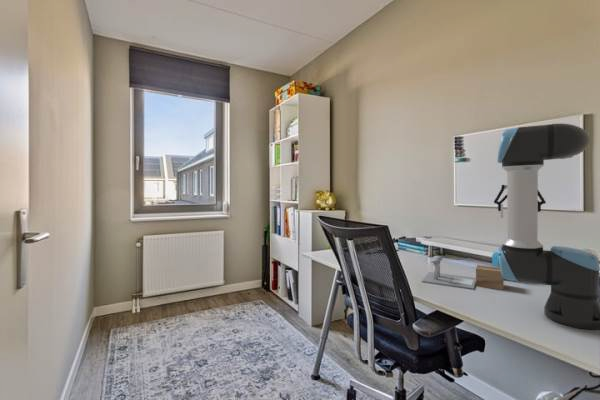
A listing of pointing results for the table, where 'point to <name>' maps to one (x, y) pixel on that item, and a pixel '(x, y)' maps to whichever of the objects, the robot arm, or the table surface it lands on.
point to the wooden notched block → (489, 277)
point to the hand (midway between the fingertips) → (518, 218)
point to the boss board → (448, 277)
